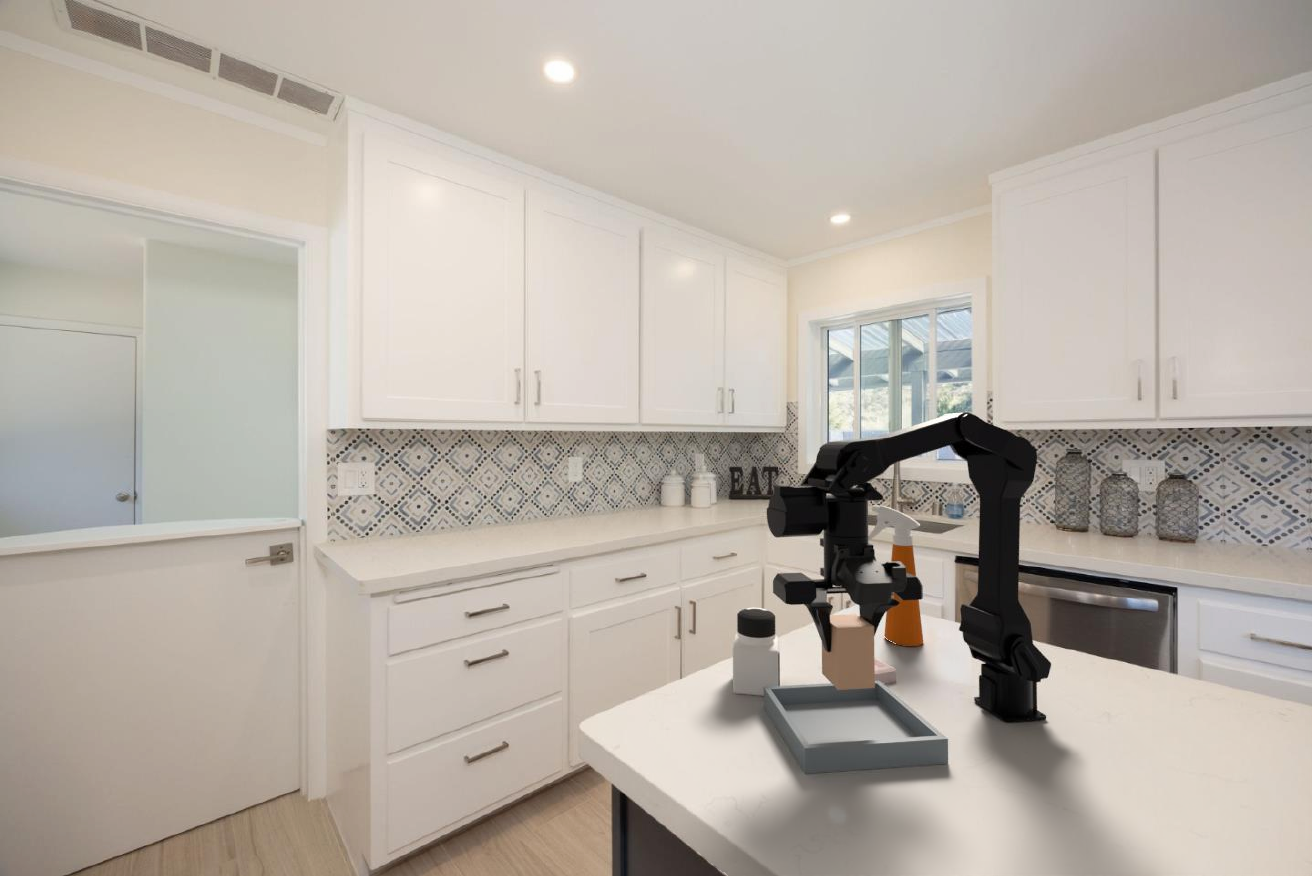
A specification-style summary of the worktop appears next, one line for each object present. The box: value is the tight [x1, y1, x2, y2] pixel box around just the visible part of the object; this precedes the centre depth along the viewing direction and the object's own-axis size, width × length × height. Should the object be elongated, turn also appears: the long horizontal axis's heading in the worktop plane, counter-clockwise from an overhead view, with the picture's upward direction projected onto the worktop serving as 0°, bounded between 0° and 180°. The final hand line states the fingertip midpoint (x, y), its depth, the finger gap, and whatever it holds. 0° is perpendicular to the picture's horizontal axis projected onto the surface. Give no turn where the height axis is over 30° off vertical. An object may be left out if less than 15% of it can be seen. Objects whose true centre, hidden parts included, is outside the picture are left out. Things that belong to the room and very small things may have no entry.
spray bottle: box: [868, 504, 924, 647], centre depth 107 cm, size 7×11×26 cm, turn 55°
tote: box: [763, 681, 949, 775], centre depth 72 cm, size 18×16×3 cm
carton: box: [821, 613, 875, 690], centre depth 72 cm, size 5×5×8 cm
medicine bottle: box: [732, 607, 781, 697], centre depth 86 cm, size 7×7×12 cm
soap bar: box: [874, 656, 897, 684], centre depth 91 cm, size 5×9×2 cm, turn 18°
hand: (846, 650), depth 72 cm, fingers closed on carton, 5 cm apart
